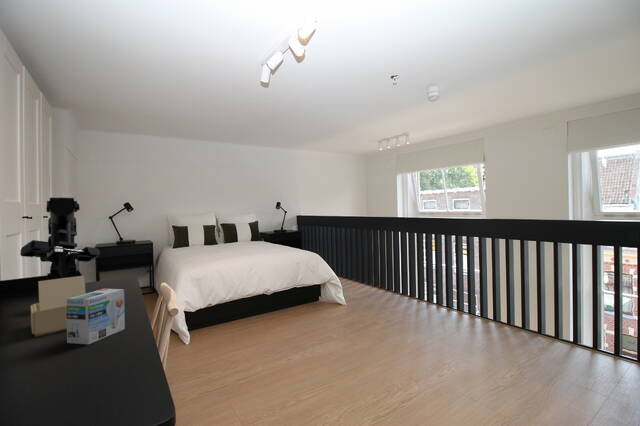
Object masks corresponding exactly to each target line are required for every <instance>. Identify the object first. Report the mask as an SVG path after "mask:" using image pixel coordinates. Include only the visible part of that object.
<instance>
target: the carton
mask: <svg viewBox="0 0 640 426" xmlns="http://www.w3.org/2000/svg"><path fill="white" fill-rule="evenodd" d="M30 326H31V334H32V335H33V334H34V338H37V337H42V336H47V335H51V334H56V333H59V332H65V331H67V309H66V307H62V308H56V309H50V310H45V311H40V307H39V302H37V303H32V304H31V305H30Z"/></svg>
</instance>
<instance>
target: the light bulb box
mask: <svg viewBox="0 0 640 426" xmlns="http://www.w3.org/2000/svg"><path fill="white" fill-rule="evenodd" d="M66 309H67V330H66V343H67V344H76V345H77V344H78V345H90V344H93V343H95V342H98V341H100V340H102V339H105V338H107V337H109V336H111V335H114V334H117V333H118V332H121V331H123V330H125V329H126V328H125V325H126V324H125V289H123V288H121V289H119V288H101V289H98V290H95V291H90V292H86V294H82V295H79V296H75V297H71V298H67V299H66Z"/></svg>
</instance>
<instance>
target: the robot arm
mask: <svg viewBox="0 0 640 426" xmlns="http://www.w3.org/2000/svg"><path fill="white" fill-rule="evenodd" d="M78 211H80V204H79V203H78V201H77V200H75V198H74V197H54V196H53V197H51V196H50V197H49V200H46V213H49V215H50V217H49V218H48V219H47V220H48V221H47V228H48V229H47V230H48V235H49V236H48V237H47V241H44V240H43V241H42V240H34V239H33V240H31V241H28V243H26V244H25V245H24V246H22V247H21V249H20V254H19V256H21V257H27V258H39V259H40V260H39V261H40V262H44V263H46V262H49V263H50V267H49V273H47V274H46V278H47V279H46V280H53V279H61V278H69V277H77V276H83V274H82V273H81V271H80V270H79V269H77V268H78V267H77V266H78V265H77V263H76V262H77V261H78V262H84V263H85V262H86V263H87V262H88V263H89V262H92V260H95V259H97V258H98V257H99V256H100V249H99V248H97V247H90V246H85V247H83V248H82V249H76V248H77V247H78V243H77V242H75V241H76V240H75V237H76V236H77V235H78V232H77V218H76V217H75V213H77V212H78ZM76 260H77V261H76Z"/></svg>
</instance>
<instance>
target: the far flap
mask: <svg viewBox="0 0 640 426" xmlns="http://www.w3.org/2000/svg"><path fill="white" fill-rule="evenodd" d="M37 282H38V303H39V307H40V311H45V310H50V309H56V308H62V307H66V299H67V298H71V297H75V296H79V295H82V294H86V293H87V292H86V283H85V275H82V276H77V277H69V278H61V279H53V280H47V279H46V280H39V281H37Z"/></svg>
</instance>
